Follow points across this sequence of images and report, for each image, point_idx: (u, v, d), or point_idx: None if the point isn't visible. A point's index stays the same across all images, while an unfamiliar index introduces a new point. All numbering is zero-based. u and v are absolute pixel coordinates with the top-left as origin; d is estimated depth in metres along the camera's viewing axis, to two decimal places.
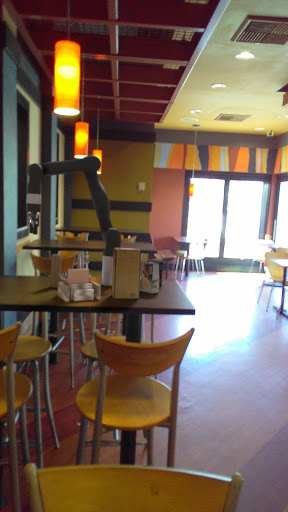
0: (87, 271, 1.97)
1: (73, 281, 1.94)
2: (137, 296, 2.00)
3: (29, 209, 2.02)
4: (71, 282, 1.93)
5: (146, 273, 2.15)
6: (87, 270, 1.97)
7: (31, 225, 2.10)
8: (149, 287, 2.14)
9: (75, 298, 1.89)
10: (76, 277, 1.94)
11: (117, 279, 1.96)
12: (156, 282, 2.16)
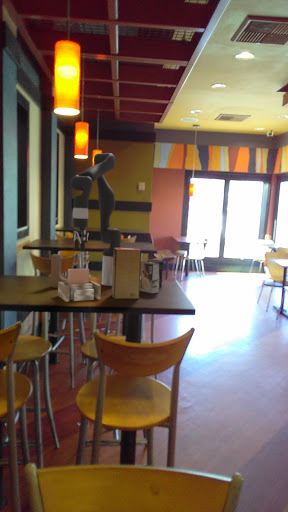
0: (87, 271, 1.97)
1: (73, 281, 1.94)
2: (137, 296, 2.00)
3: (76, 224, 1.90)
4: (71, 282, 1.93)
5: (146, 273, 2.15)
6: (87, 270, 1.97)
7: (76, 241, 1.98)
8: (149, 287, 2.14)
9: (75, 298, 1.89)
10: (76, 277, 1.94)
11: (117, 279, 1.96)
12: (156, 282, 2.16)
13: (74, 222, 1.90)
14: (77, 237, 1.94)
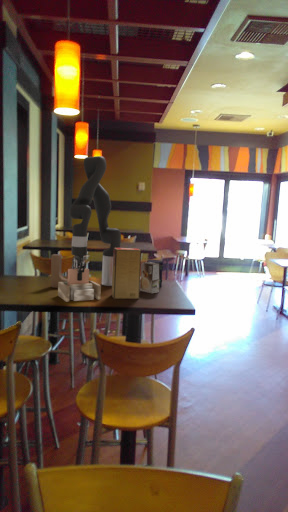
0: (87, 271, 1.97)
1: (73, 281, 1.94)
2: (137, 296, 2.00)
3: (75, 253, 1.92)
4: (71, 282, 1.93)
5: (146, 273, 2.15)
6: (87, 270, 1.97)
7: None
8: (149, 287, 2.14)
9: (75, 298, 1.89)
10: (76, 277, 1.94)
11: (117, 279, 1.96)
12: (156, 282, 2.16)
13: (73, 250, 1.92)
14: None
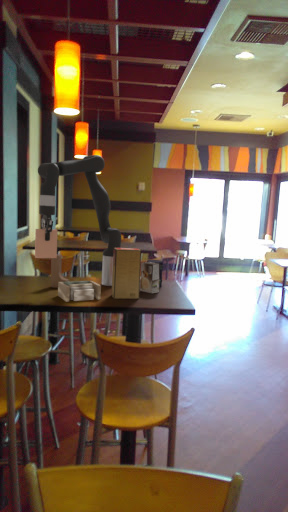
0: (55, 231, 1.93)
1: (41, 241, 1.91)
2: (137, 296, 2.00)
3: (42, 212, 1.88)
4: (38, 242, 1.90)
5: (146, 273, 2.15)
6: (55, 230, 1.93)
7: None
8: (149, 287, 2.14)
9: (75, 298, 1.89)
10: (43, 237, 1.91)
11: (117, 279, 1.96)
12: (156, 282, 2.16)
13: (41, 209, 1.89)
14: None
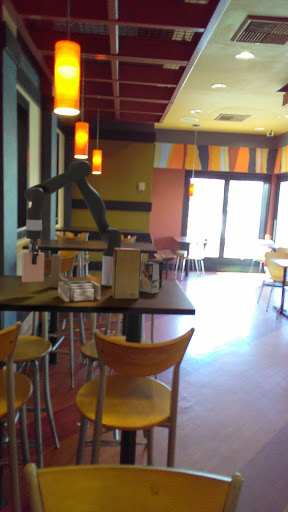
0: (42, 255, 1.95)
1: (28, 265, 1.92)
2: (137, 296, 2.00)
3: (29, 236, 1.90)
4: (25, 266, 1.92)
5: (146, 273, 2.15)
6: (42, 254, 1.95)
7: None
8: (149, 287, 2.14)
9: (75, 298, 1.89)
10: (30, 260, 1.92)
11: (117, 279, 1.96)
12: (156, 282, 2.16)
13: (27, 234, 1.90)
14: (31, 249, 1.94)
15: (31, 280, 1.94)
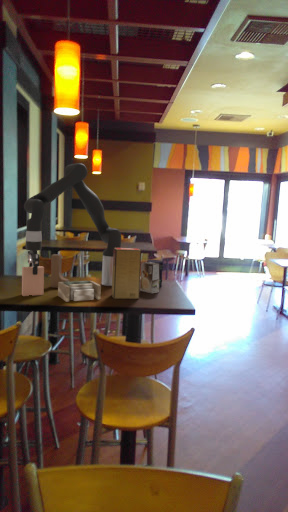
0: (42, 269, 1.96)
1: (27, 279, 1.93)
2: (137, 296, 2.00)
3: (29, 247, 1.90)
4: (25, 280, 1.93)
5: (146, 273, 2.15)
6: (42, 268, 1.96)
7: (31, 263, 1.98)
8: (149, 287, 2.14)
9: (75, 298, 1.89)
10: (30, 274, 1.93)
11: (117, 279, 1.96)
12: (156, 282, 2.16)
13: (27, 245, 1.91)
14: None
15: (31, 294, 1.95)
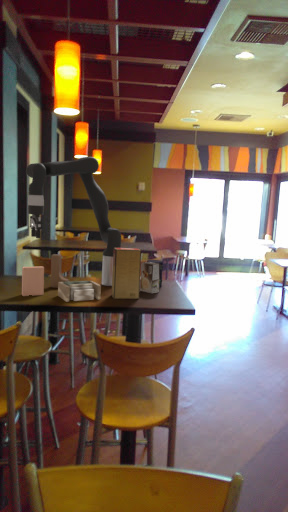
0: (42, 269, 1.96)
1: (27, 279, 1.93)
2: (137, 296, 2.00)
3: (31, 211, 1.91)
4: (25, 280, 1.93)
5: (146, 273, 2.15)
6: (42, 268, 1.96)
7: (33, 228, 1.99)
8: (149, 287, 2.14)
9: (75, 298, 1.89)
10: (30, 275, 1.93)
11: (117, 279, 1.96)
12: (156, 282, 2.16)
13: (29, 209, 1.92)
14: (33, 224, 1.95)
15: (31, 294, 1.95)
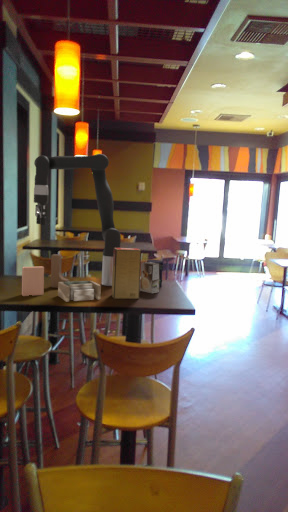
0: (42, 269, 1.96)
1: (27, 279, 1.93)
2: (137, 296, 2.00)
3: (37, 200, 2.08)
4: (25, 280, 1.93)
5: (146, 273, 2.15)
6: (42, 268, 1.96)
7: (38, 216, 2.16)
8: (149, 287, 2.14)
9: (75, 298, 1.89)
10: (30, 274, 1.93)
11: (117, 279, 1.96)
12: (156, 282, 2.16)
13: (35, 198, 2.08)
14: (38, 212, 2.12)
15: (31, 294, 1.95)
